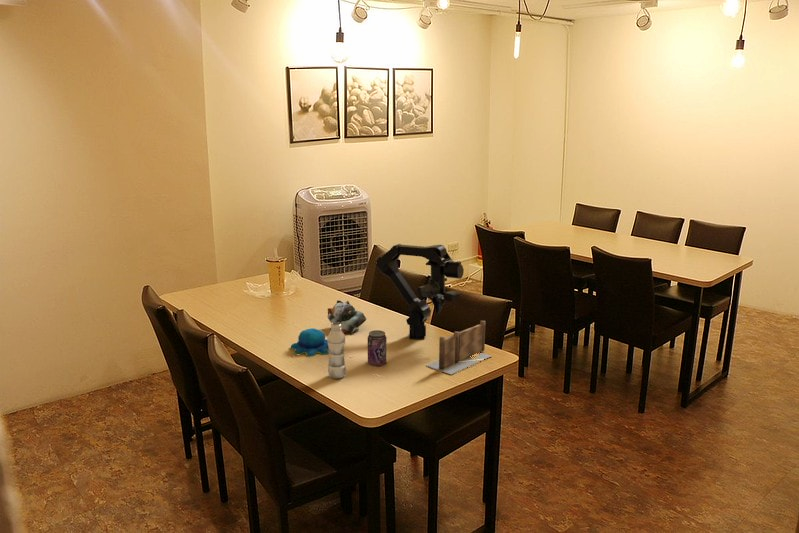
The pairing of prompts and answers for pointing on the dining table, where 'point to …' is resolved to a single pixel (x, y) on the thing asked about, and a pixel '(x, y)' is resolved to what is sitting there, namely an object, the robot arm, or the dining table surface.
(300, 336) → the plush toy
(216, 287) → the dining table surface
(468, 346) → the fence panel
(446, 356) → the fence fixed
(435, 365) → the card
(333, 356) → the plastic bottle
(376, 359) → the beverage can
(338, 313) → the grey stuffed animal
